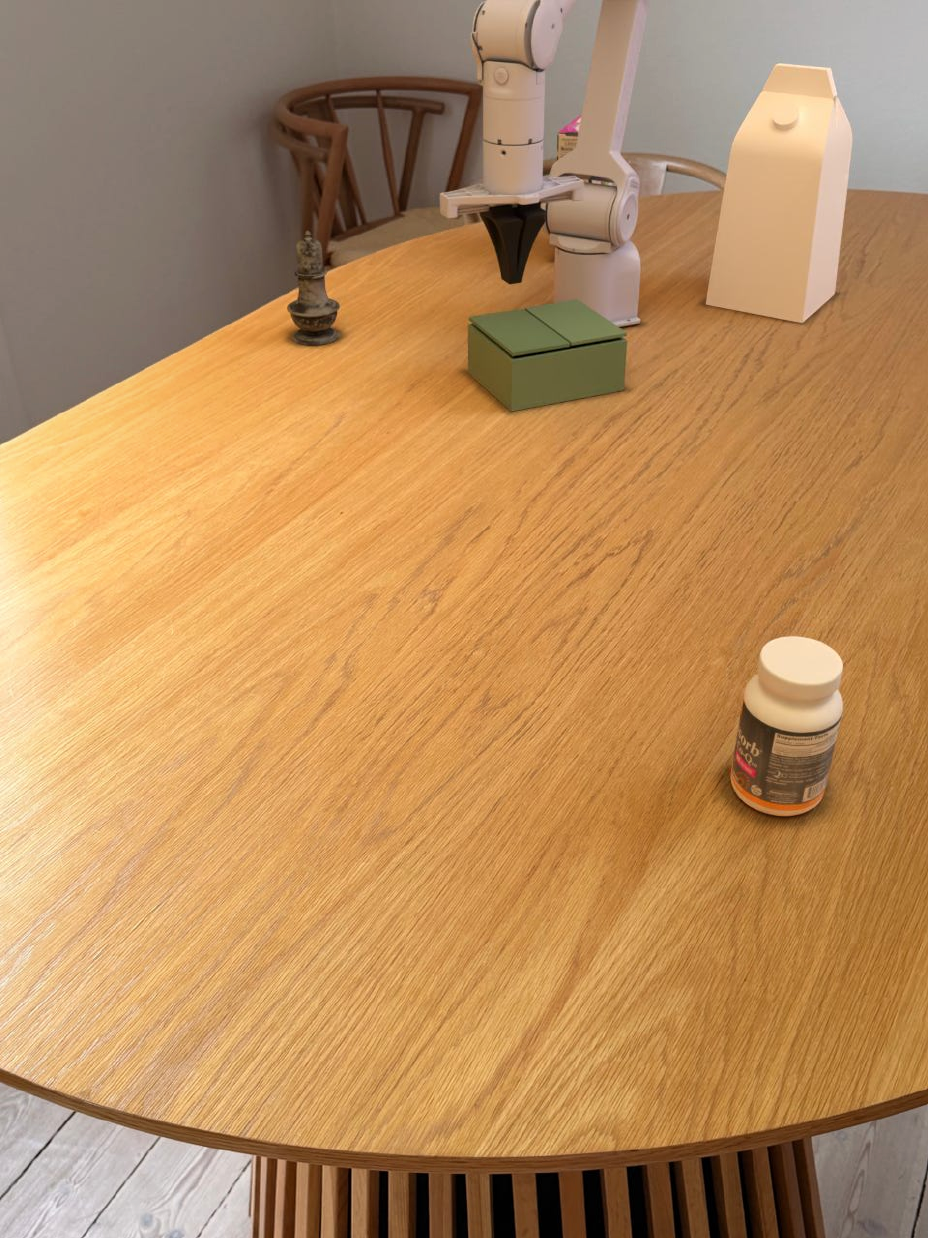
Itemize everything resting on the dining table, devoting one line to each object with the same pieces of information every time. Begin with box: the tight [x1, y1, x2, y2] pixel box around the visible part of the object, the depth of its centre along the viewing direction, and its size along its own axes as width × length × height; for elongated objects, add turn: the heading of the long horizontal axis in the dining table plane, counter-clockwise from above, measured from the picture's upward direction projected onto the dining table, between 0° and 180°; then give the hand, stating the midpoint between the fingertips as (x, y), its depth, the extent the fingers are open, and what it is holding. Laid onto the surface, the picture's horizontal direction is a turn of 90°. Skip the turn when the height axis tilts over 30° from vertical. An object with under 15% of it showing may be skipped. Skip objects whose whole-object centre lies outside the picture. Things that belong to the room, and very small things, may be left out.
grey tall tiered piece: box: [286, 230, 341, 347], centre depth 134 cm, size 6×6×12 cm
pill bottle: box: [730, 635, 844, 817], centre depth 72 cm, size 6×6×10 cm
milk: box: [705, 62, 854, 324], centre depth 139 cm, size 12×12×26 cm
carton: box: [467, 299, 628, 412], centre depth 125 cm, size 13×11×6 cm
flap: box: [468, 308, 570, 356], centre depth 122 cm, size 6×11×1 cm, turn 23°
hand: (511, 280), depth 122 cm, fingers closed
